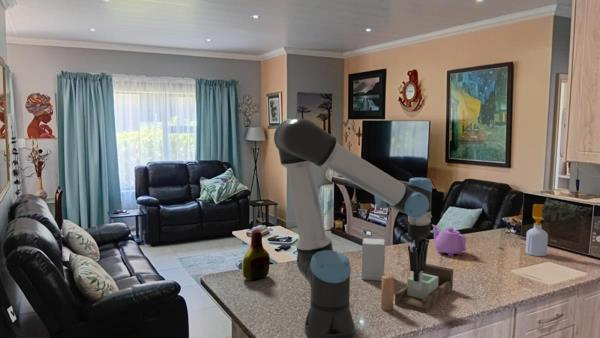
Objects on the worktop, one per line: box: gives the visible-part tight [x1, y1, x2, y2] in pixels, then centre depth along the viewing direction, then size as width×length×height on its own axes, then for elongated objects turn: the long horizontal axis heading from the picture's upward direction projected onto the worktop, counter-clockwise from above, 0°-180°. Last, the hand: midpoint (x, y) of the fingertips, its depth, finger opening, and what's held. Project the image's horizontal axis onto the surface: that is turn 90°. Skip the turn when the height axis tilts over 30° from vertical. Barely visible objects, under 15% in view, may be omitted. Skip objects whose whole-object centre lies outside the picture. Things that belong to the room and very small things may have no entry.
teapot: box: [431, 224, 467, 258], centre depth 218 cm, size 20×14×12 cm
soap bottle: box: [525, 203, 549, 257], centre depth 217 cm, size 9×9×25 cm
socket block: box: [406, 273, 438, 299], centre depth 162 cm, size 9×8×6 cm
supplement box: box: [361, 237, 386, 282], centre depth 184 cm, size 9×9×15 cm
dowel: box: [380, 274, 395, 312], centre depth 153 cm, size 4×4×11 cm
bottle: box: [241, 228, 271, 281], centre depth 181 cm, size 12×6×20 cm, turn 120°
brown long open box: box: [394, 263, 454, 313], centre depth 163 cm, size 26×11×8 cm, turn 142°
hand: (417, 289), depth 157 cm, fingers closed
